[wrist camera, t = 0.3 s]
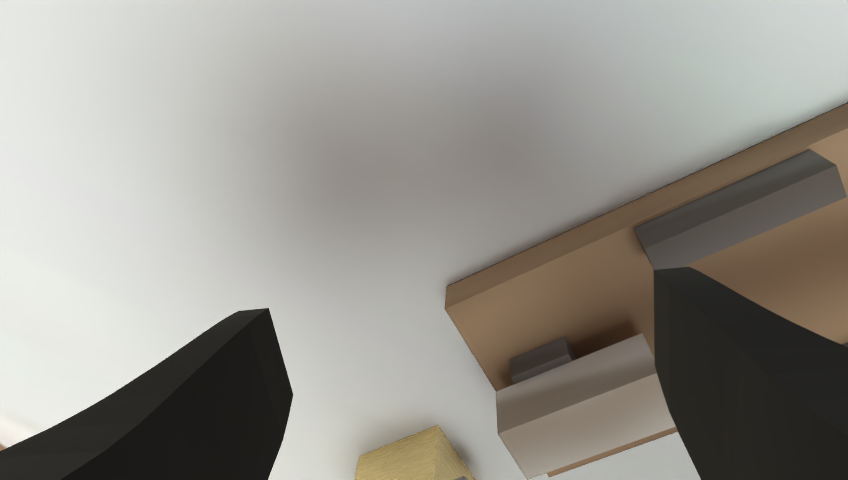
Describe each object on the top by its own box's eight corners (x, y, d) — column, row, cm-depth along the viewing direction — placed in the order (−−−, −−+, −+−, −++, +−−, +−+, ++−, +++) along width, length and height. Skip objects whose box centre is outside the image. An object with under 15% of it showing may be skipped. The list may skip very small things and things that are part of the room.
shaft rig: (1067, 255, 21) (1214, 333, 16) (544, 448, 25) (558, 546, 21) (1019, 23, 18) (1182, 46, 14) (446, 286, 22) (440, 362, 18)
